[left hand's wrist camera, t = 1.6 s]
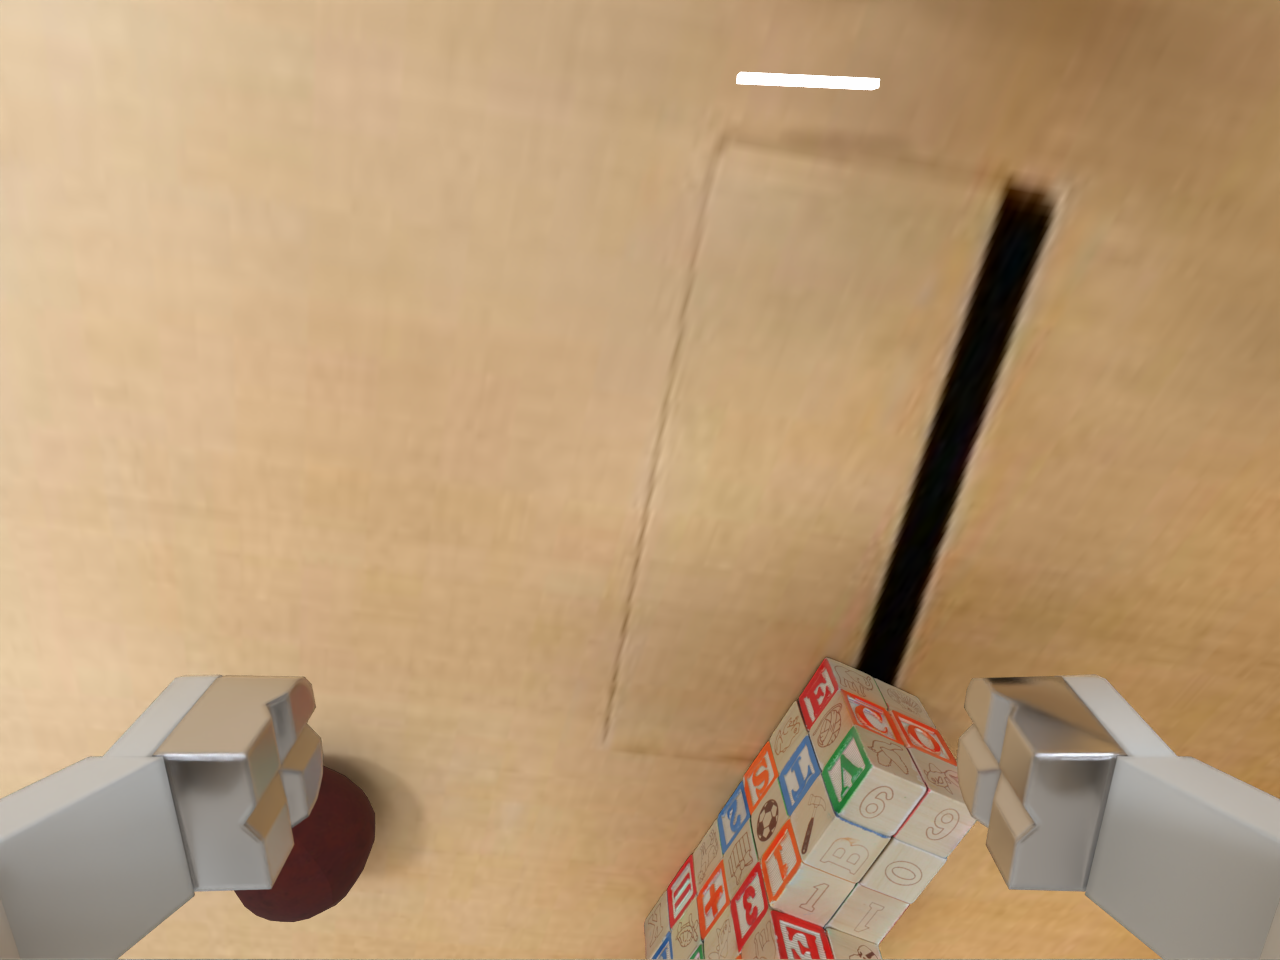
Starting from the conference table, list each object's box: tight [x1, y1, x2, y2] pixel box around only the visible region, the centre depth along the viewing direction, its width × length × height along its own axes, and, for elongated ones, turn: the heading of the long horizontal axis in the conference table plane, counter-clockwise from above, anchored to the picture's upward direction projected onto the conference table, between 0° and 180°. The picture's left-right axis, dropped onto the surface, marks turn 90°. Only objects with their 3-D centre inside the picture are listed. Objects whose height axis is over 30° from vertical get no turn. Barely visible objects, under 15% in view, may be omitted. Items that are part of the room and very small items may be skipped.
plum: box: [234, 766, 375, 922], centre depth 44 cm, size 7×8×7 cm
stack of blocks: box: [644, 657, 977, 959], centre depth 44 cm, size 21×6×12 cm, turn 153°
